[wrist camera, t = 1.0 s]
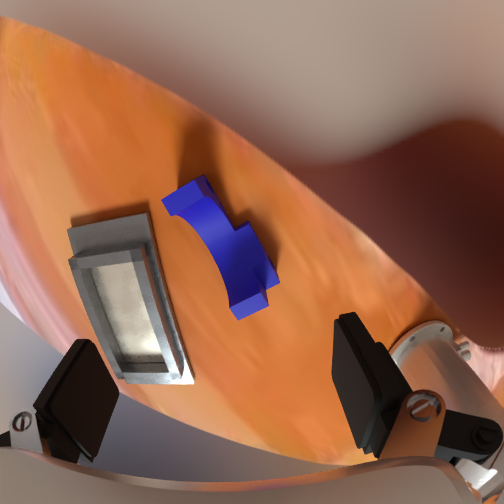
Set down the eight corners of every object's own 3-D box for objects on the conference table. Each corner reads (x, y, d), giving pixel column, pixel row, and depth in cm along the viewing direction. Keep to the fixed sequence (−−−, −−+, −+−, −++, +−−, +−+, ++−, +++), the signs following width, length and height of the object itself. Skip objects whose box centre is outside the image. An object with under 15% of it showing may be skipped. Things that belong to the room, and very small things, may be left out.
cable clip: (276, 270, 29) (284, 298, 24) (238, 289, 30) (237, 320, 24) (218, 166, 26) (211, 169, 20) (177, 189, 26) (161, 199, 20)
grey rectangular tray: (149, 211, 26) (139, 218, 24) (195, 378, 34) (192, 394, 31) (71, 227, 27) (57, 234, 24) (128, 378, 34) (122, 393, 31)
